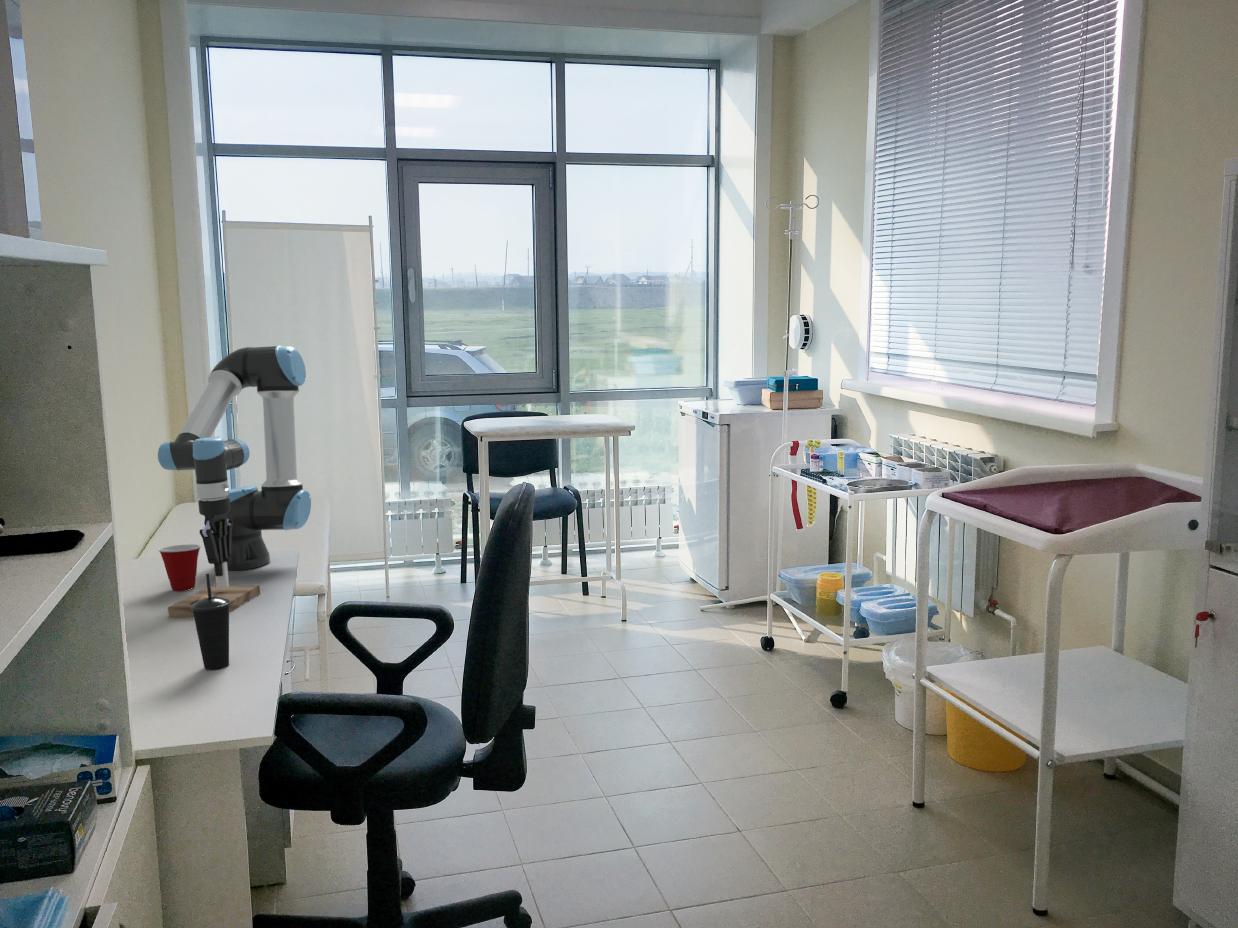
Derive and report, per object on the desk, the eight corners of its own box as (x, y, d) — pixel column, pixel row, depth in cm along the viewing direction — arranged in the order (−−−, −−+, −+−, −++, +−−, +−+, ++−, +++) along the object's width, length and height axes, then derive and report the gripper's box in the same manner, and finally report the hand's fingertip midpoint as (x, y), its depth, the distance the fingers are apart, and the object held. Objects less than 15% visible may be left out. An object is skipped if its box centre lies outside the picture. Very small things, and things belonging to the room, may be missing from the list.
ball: (197, 613, 247) (205, 604, 251) (212, 613, 247) (220, 604, 250) (193, 600, 245) (201, 591, 249) (208, 600, 245) (216, 591, 249)
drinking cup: (212, 675, 201) (202, 580, 198) (189, 669, 205) (179, 576, 202) (244, 663, 208) (235, 571, 205) (221, 657, 212) (212, 567, 209)
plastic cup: (212, 582, 275) (208, 541, 273) (192, 593, 264) (187, 550, 262) (175, 583, 276) (171, 541, 274) (154, 594, 265) (149, 550, 264)
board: (210, 594, 263) (209, 585, 263) (260, 594, 261) (259, 585, 261) (168, 617, 243) (167, 607, 243) (222, 617, 242) (221, 607, 241)
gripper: (214, 502, 245) (223, 594, 249) (240, 493, 258) (248, 579, 262) (186, 503, 246) (196, 594, 250) (213, 493, 259) (221, 580, 263)
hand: (222, 586), depth 256 cm, fingers closed
